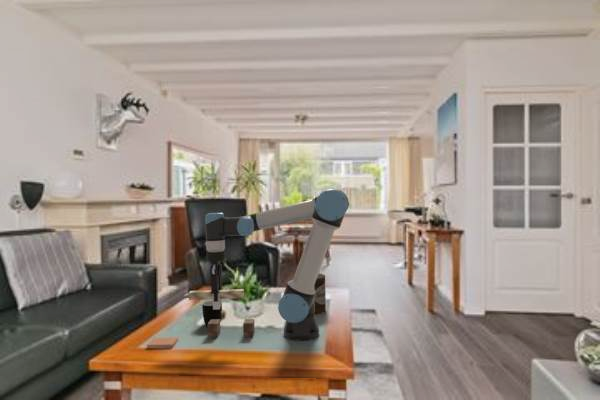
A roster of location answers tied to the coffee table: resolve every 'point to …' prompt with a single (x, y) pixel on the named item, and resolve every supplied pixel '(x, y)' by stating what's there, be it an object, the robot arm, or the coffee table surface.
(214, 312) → the mug
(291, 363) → the coffee table surface
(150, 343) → the tile
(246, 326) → the tool rest
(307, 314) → the robot arm
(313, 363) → the coffee table surface
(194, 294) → the beige stone bar
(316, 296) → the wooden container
